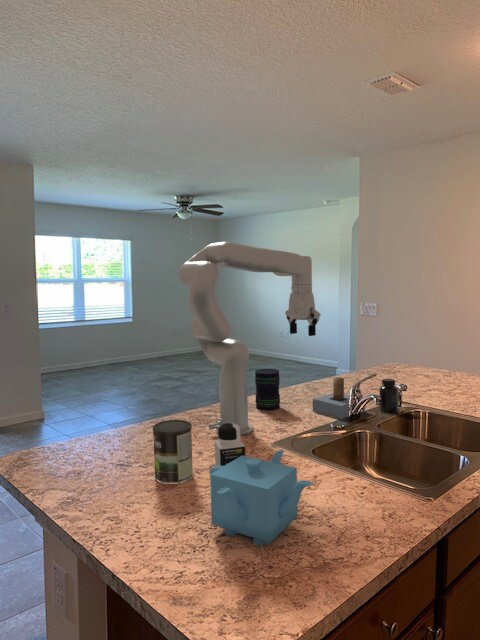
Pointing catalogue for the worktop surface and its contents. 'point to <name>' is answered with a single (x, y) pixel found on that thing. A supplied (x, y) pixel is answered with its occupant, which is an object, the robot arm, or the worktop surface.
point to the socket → (332, 406)
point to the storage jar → (267, 389)
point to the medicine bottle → (228, 444)
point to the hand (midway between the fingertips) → (302, 334)
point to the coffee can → (173, 451)
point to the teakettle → (255, 497)
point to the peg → (338, 389)
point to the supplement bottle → (389, 396)
